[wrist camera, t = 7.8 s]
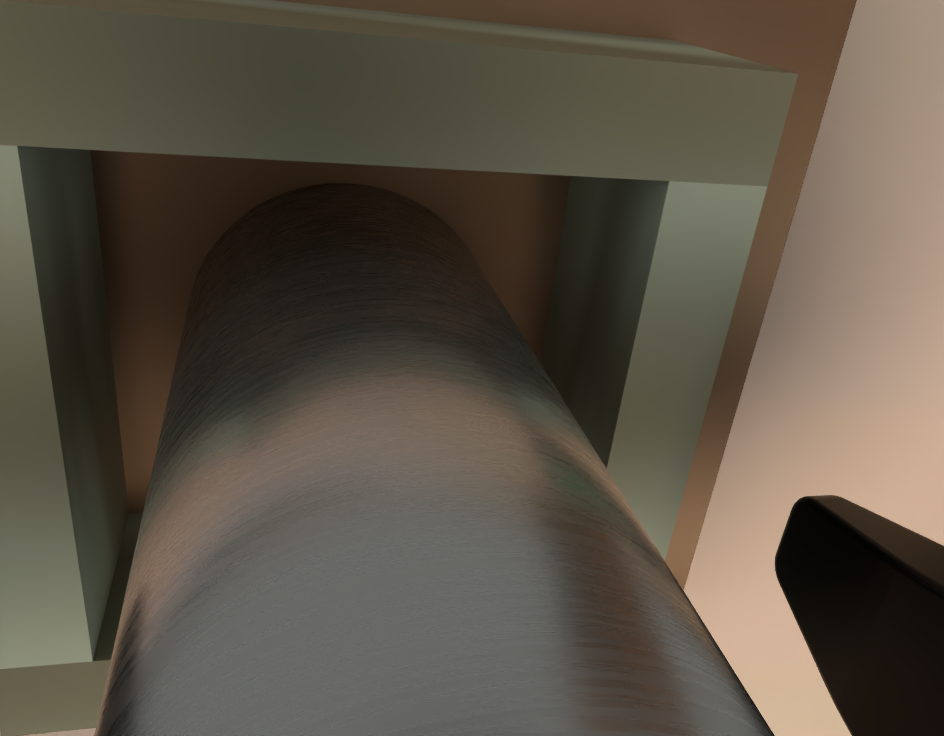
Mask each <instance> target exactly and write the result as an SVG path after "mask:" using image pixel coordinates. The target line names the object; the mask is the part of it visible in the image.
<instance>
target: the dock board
mask: <svg viewBox="0 0 944 736" xmlns="http://www.w3.org/2000/svg"><path fill="white" fill-rule="evenodd" d="M855 4H856V0H0V732H1V736H19V735H29V734H38V733H48V732H58V731H68V730H78V729H87V728H96V726H97V721H98V717H99V712H100V708H101V703H102V698H103V694H104V689H105V685H106V680H107V675H108V671H109V666H110V662H111V657H112V653H113V648H114V643H115V639H116V634H117V630H118V625H119V620H120V616H121V611H122V607H123V602H124V598H125V593H126V588H127V584H128V579H129V575H130V570H131V565H132V561H133V556H134V552H135V547H136V543H137V538H138V533H139V529H140V524H141V520H142V515H143V510H144V506H145V501H146V497H147V492H148V488H149V483H150V478H151V474H152V469H153V465H154V460H155V455H156V451H157V446H158V442H159V437H160V433H161V428H162V423H163V419H164V414H165V410H166V405H167V400H168V396H169V391H170V387H171V382H172V378H173V373H174V368H175V364H176V359H177V355H178V350H179V345H180V341H181V336H182V332H183V327H184V323H185V318H186V313H187V309H188V304H189V300H190V295H191V291H192V288H193V285H194V282H195V279H196V276H197V273H198V271H199V269H200V267H201V265H202V263H203V261H204V259H205V257H206V255H207V254H208V253H209V251H210V250H211V248H212V247H213V246H214V244H215V243H216V241H217V240H218V239H219V238H220V237H221V236H222V235H223V233H224V232H225V231H226V230H227V229H228V228H229V227H230V226H231V225H232V224H233V223H235V222H236V221H237V220H238V219H240V218H241V217H242V216H243V215H245V214H246V213H247V212H248V211H250V210H252V209H254V208H255V207H257V206H259V205H260V204H262V203H264V202H265V201H267V200H269V199H272V198H274V197H277V196H279V195H281V194H284V193H286V192H289V191H293V190H296V189H300V188H304V187H308V186H314V185H321V184H330V183H352V184H361V185H369V186H374V187H378V188H382V189H386V190H390V191H393V192H395V193H398V194H401V195H403V196H406V197H408V198H410V199H412V200H414V201H416V202H418V203H419V204H421V205H423V206H425V207H427V208H428V209H429V210H431V211H432V212H433V213H435V214H436V215H437V216H439V217H440V218H441V219H443V220H444V221H445V222H446V223H447V224H448V225H449V226H450V227H451V228H452V229H453V230H454V231H455V232H456V233H457V235H458V236H459V237H460V238H461V240H462V241H463V242H464V244H465V245H466V246H467V248H468V249H469V251H470V252H471V254H472V256H473V257H474V259H475V260H476V262H477V264H478V265H479V267H480V268H481V270H482V272H483V273H484V275H485V276H486V278H487V279H488V281H489V283H490V284H491V286H492V287H493V289H494V291H495V292H496V294H497V295H498V297H499V299H500V300H501V302H502V303H503V305H504V306H505V308H506V310H507V311H508V313H509V314H510V316H511V318H512V319H513V321H514V322H515V324H516V326H517V327H518V329H519V330H520V332H521V334H522V335H523V337H524V338H525V340H526V341H527V343H528V345H529V346H530V348H531V349H532V351H533V353H534V354H535V356H536V357H537V359H538V361H539V362H540V364H541V365H542V367H543V368H544V370H545V372H546V373H547V375H548V376H549V378H550V380H551V381H552V383H553V384H554V386H555V388H556V389H557V391H558V392H559V394H560V395H561V397H562V399H563V400H564V402H565V403H566V405H567V407H568V408H569V410H570V411H571V413H572V415H573V416H574V418H575V419H576V421H577V423H578V424H579V426H580V427H581V429H582V430H583V432H584V434H585V435H586V437H587V438H588V440H589V442H590V443H591V445H592V446H593V448H594V450H595V451H596V453H597V454H598V456H599V457H600V459H601V461H602V462H603V464H604V465H605V467H606V469H607V470H608V472H609V473H610V475H611V477H612V478H613V480H614V481H615V483H616V485H617V486H618V488H619V489H620V491H621V492H622V494H623V496H624V497H625V499H626V500H627V502H628V504H629V505H630V507H631V508H632V510H633V512H634V513H635V515H636V516H637V518H638V519H639V521H640V523H641V524H642V526H643V527H644V529H645V531H646V532H647V534H648V535H649V537H650V539H651V540H652V542H653V543H654V545H655V547H656V548H657V550H658V551H659V553H660V554H661V556H662V558H663V559H664V561H665V562H666V564H667V566H668V567H669V569H670V570H671V572H672V574H673V575H674V577H675V578H676V580H677V581H678V583H679V585H680V586H681V588H682V589H683V590H684V586H685V583H686V580H687V576H688V573H689V569H690V566H691V563H692V559H693V556H694V552H695V549H696V545H697V542H698V539H699V535H700V532H701V528H702V525H703V522H704V518H705V515H706V511H707V508H708V505H709V501H710V498H711V494H712V491H713V488H714V484H715V481H716V477H717V474H718V471H719V467H720V464H721V460H722V457H723V454H724V450H725V447H726V443H727V440H728V436H729V433H730V430H731V426H732V423H733V419H734V416H735V413H736V409H737V406H738V402H739V399H740V396H741V392H742V389H743V385H744V382H745V379H746V375H747V372H748V368H749V365H750V362H751V358H752V355H753V351H754V348H755V345H756V341H757V338H758V334H759V331H760V327H761V324H762V321H763V317H764V314H765V310H766V307H767V304H768V300H769V297H770V293H771V290H772V287H773V283H774V280H775V276H776V273H777V270H778V266H779V263H780V259H781V256H782V253H783V249H784V246H785V242H786V239H787V236H788V232H789V229H790V225H791V222H792V218H793V215H794V212H795V208H796V205H797V201H798V198H799V195H800V191H801V188H802V184H803V181H804V178H805V174H806V171H807V167H808V164H809V161H810V157H811V154H812V150H813V147H814V144H815V140H816V137H817V133H818V130H819V127H820V123H821V120H822V116H823V113H824V109H825V106H826V103H827V99H828V96H829V92H830V89H831V86H832V82H833V79H834V75H835V72H836V69H837V65H838V62H839V58H840V55H841V52H842V48H843V45H844V41H845V38H846V35H847V31H848V28H849V24H850V21H851V18H852V14H853V11H854V7H855Z"/></svg>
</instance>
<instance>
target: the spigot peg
mask: <svg viewBox="0 0 944 736" xmlns="http://www.w3.org/2000/svg"><path fill="white" fill-rule="evenodd" d="M94 736H774V734H773V732H772V731H771V729H770V728H769V726H768V725H767V723H766V721H765V720H764V718H763V717H762V715H761V713H760V712H759V710H758V709H757V707H756V705H755V704H754V702H753V701H752V699H751V698H750V696H749V694H748V693H747V691H746V690H745V688H744V686H743V685H742V683H741V682H740V680H739V678H738V677H737V675H736V674H735V672H734V670H733V669H732V667H731V666H730V664H729V663H728V661H727V659H726V658H725V656H724V655H723V653H722V651H721V650H720V648H719V647H718V645H717V643H716V642H715V640H714V639H713V637H712V636H711V634H710V632H709V631H708V629H707V628H706V626H705V624H704V623H703V621H702V620H701V618H700V616H699V615H698V613H697V612H696V610H695V608H694V607H693V605H692V604H691V602H690V601H689V599H688V597H687V596H686V594H685V593H684V591H683V589H682V588H681V586H680V585H679V583H678V581H677V580H676V578H675V577H674V575H673V574H672V572H671V570H670V569H669V567H668V566H667V564H666V562H665V561H664V559H663V558H662V556H661V554H660V553H659V551H658V550H657V548H656V547H655V545H654V543H653V542H652V540H651V539H650V537H649V535H648V534H647V532H646V531H645V529H644V527H643V526H642V524H641V523H640V521H639V519H638V518H637V516H636V515H635V513H634V512H633V510H632V508H631V507H630V505H629V504H628V502H627V500H626V499H625V497H624V496H623V494H622V492H621V491H620V489H619V488H618V486H617V485H616V483H615V481H614V480H613V478H612V477H611V475H610V473H609V472H608V470H607V469H606V467H605V465H604V464H603V462H602V461H601V459H600V457H599V456H598V454H597V453H596V451H595V450H594V448H593V446H592V445H591V443H590V442H589V440H588V438H587V437H586V435H585V434H584V432H583V430H582V429H581V427H580V426H579V424H578V423H577V421H576V419H575V418H574V416H573V415H572V413H571V411H570V410H569V408H568V407H567V405H566V403H565V402H564V400H563V399H562V397H561V395H560V394H559V392H558V391H557V389H556V388H555V386H554V384H553V383H552V381H551V380H550V378H549V376H548V375H547V373H546V372H545V370H544V368H543V367H542V365H541V364H540V362H539V361H538V359H537V357H536V356H535V354H534V353H533V351H532V349H531V348H530V346H529V345H528V343H527V341H526V340H525V338H524V337H523V335H522V334H521V332H520V330H519V329H518V327H517V326H516V324H515V322H514V321H513V319H512V318H511V316H510V314H509V313H508V311H507V310H506V308H505V306H504V305H503V303H502V302H501V300H500V299H499V297H498V295H497V294H496V292H495V291H494V289H493V287H492V286H491V284H490V283H489V281H488V279H487V278H486V276H485V275H484V273H483V272H482V270H481V268H480V267H479V265H478V264H477V262H476V260H475V259H474V257H473V256H472V254H471V252H470V251H469V249H468V248H467V246H466V245H465V244H464V242H463V241H462V240H461V238H460V237H459V236H458V235H457V233H456V232H455V231H454V230H453V229H452V228H451V227H450V226H449V225H448V224H447V223H446V222H445V221H444V220H443V219H441V218H440V217H439V216H437V215H436V214H435V213H433V212H432V211H431V210H429V209H428V208H427V207H425V206H423V205H421V204H419V203H418V202H416V201H414V200H412V199H410V198H408V197H406V196H403V195H401V194H398V193H395V192H393V191H390V190H386V189H382V188H378V187H374V186H369V185H361V184H352V183H330V184H321V185H314V186H308V187H304V188H300V189H296V190H293V191H289V192H286V193H284V194H281V195H279V196H277V197H274V198H272V199H269V200H267V201H265V202H264V203H262V204H260V205H259V206H257V207H255V208H254V209H252V210H250V211H248V212H247V213H246V214H245V215H243V216H242V217H241V218H240V219H238V220H237V221H236V222H235V223H233V224H232V225H231V226H230V227H229V228H228V229H227V230H226V231H225V232H224V233H223V235H222V236H221V237H220V238H219V239H218V240H217V241H216V243H215V244H214V246H213V247H212V248H211V250H210V251H209V253H208V254H207V255H206V257H205V259H204V261H203V263H202V265H201V267H200V269H199V271H198V273H197V276H196V279H195V282H194V285H193V288H192V291H191V295H190V300H189V304H188V309H187V313H186V318H185V323H184V327H183V332H182V336H181V341H180V345H179V350H178V355H177V359H176V364H175V368H174V373H173V378H172V382H171V387H170V391H169V396H168V400H167V405H166V410H165V414H164V419H163V423H162V428H161V433H160V437H159V442H158V446H157V451H156V455H155V460H154V465H153V469H152V474H151V478H150V483H149V488H148V492H147V497H146V501H145V506H144V510H143V515H142V520H141V524H140V529H139V533H138V538H137V543H136V547H135V552H134V556H133V561H132V565H131V570H130V575H129V579H128V584H127V588H126V593H125V598H124V602H123V607H122V611H121V616H120V620H119V625H118V630H117V634H116V639H115V643H114V648H113V653H112V657H111V662H110V666H109V671H108V675H107V680H106V685H105V689H104V694H103V698H102V703H101V708H100V712H99V717H98V721H97V726H96V730H95V735H94Z"/></svg>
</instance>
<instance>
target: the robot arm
mask: <svg viewBox="0 0 944 736" xmlns="http://www.w3.org/2000/svg"><path fill="white" fill-rule="evenodd" d="M775 571H776V575H777V578H778V581H779V583H780V586H781V588H782V590H783V592H784V594H785V597H786V599H787V601H788V603H789V606H790V608H791V610H792V612H793V614H794V617H795V619H796V621H797V623H798V625H799V628H800V630H801V632H802V634H803V636H804V639H805V641H806V643H807V645H808V647H809V650H810V652H811V654H812V656H813V659H814V661H815V663H816V665H817V667H818V670H819V672H820V674H821V676H822V678H823V681H824V683H825V685H826V687H827V689H828V691H829V693H830V695H831V697H832V700H833V702H834V704H835V706H836V708H837V710H838V711H839V713H840V715H841V717H842V719H843V721H844V722H845V724H846V726H847V728H848V730H849V732H850V733H851V735H852V736H944V546H943V545H941V544H939V543H936V542H934V541H932V540H930V539H928V538H926V537H924V536H922V535H920V534H918V533H915V532H913V531H911V530H909V529H907V528H905V527H903V526H901V525H899V524H897V523H894V522H892V521H890V520H888V519H886V518H884V517H882V516H880V515H878V514H875V513H873V512H871V511H869V510H867V509H865V508H863V507H861V506H859V505H857V504H854V503H852V502H850V501H848V500H846V499H844V498H842V497H839V496H834V495H824V496H806V497H803V498H800V499H799V500H798V501H797V502H796V503H795V504H794V506H793V508H792V510H791V513H790V516H789V518H788V521H787V524H786V527H785V530H784V533H783V535H782V538H781V541H780V544H779V547H778V550H777V553H776V556H775Z"/></svg>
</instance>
